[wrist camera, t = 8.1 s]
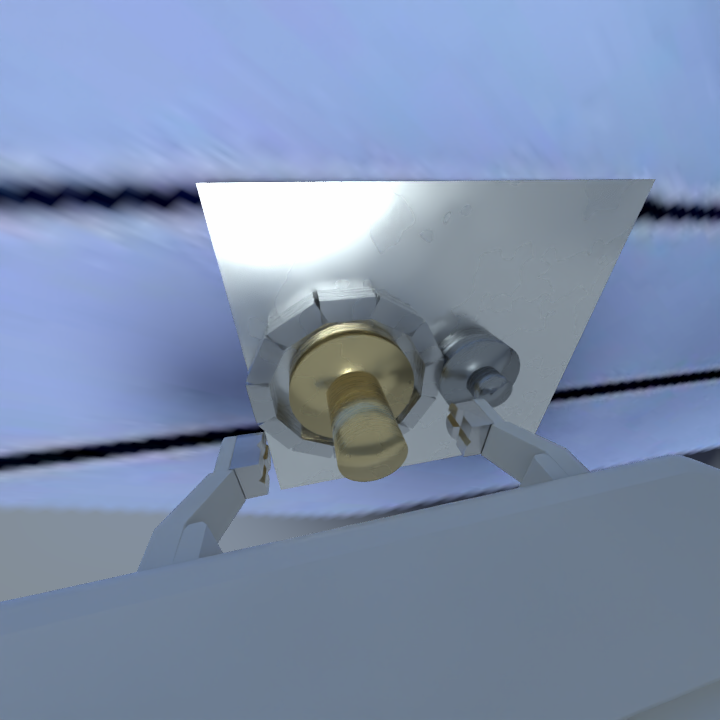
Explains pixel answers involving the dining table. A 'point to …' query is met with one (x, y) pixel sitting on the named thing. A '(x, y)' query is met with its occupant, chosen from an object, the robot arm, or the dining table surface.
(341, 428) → the brass flanged cylinder
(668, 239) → the dining table surface
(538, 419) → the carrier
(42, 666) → the robot arm
